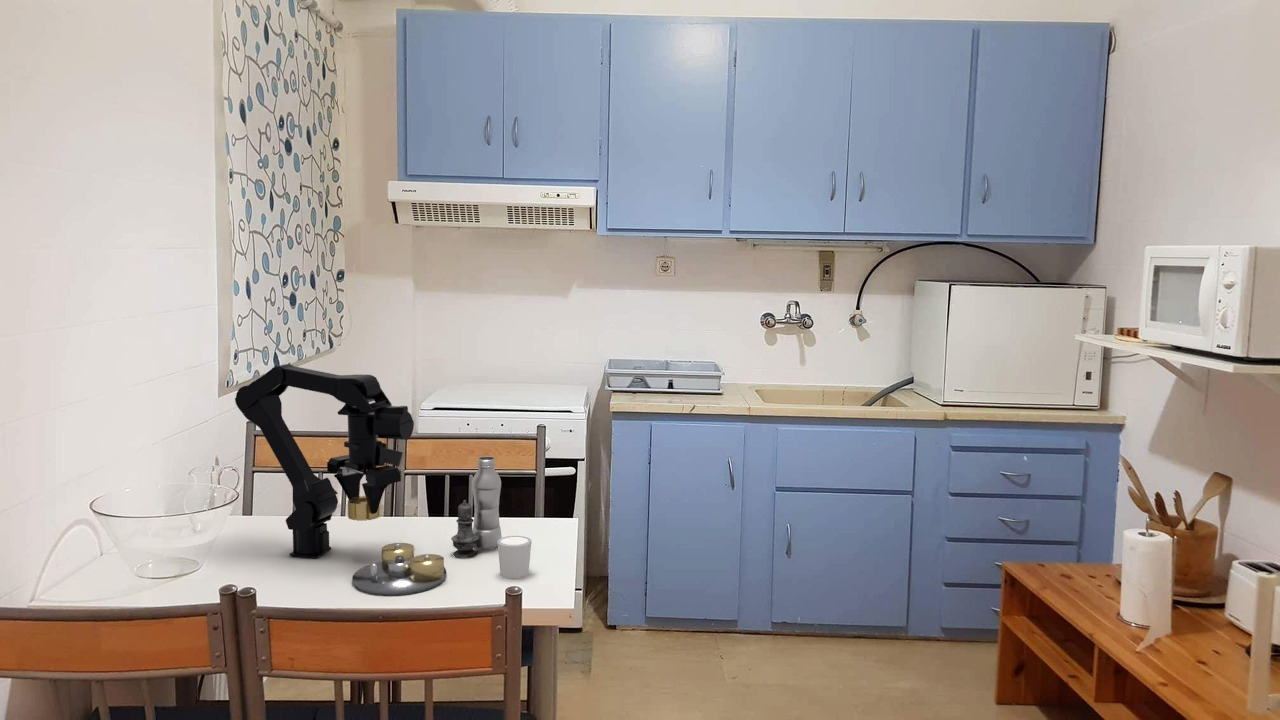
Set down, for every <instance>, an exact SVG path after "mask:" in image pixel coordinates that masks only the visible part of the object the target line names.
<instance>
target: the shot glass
mask: <svg viewBox="0 0 1280 720" xmlns="http://www.w3.org/2000/svg"><path fill="white" fill-rule="evenodd" d="M497 542H498V547H497V549H498V550H497V552H498V563H499V571H500V572H499V573H500V576H501V577H502V578H503V579H504V578H505V579H509V580H516V579H523V578H525V576H526V577H527V576H528V575H529V573H530V572H529V571H530V563H531V562H530V561H531V553H532V552H531V550H532V539H531V538H530V537H527V536H523V535H509V536H504V537H501V538H500V539H499V540H498V541H497Z"/></svg>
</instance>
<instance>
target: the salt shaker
mask: <svg viewBox="0 0 1280 720" xmlns="http://www.w3.org/2000/svg"><path fill="white" fill-rule="evenodd" d="M472 509H473V507H472V505H471V504H470V503H467V500H466V499H463V501H462V503H460V504H459V505H458V506H457V519H456V523H457V533H456V534H455V535H453V536H452V537H451V538H450V540H451V541H452V545H453V547H454V548H455V549H456V550H455V551H454V552H452V555H454V556H455V558H457V557H458V559H468V558H474V557H476V556H478V554H479V552H478V551H477V550H476V549H475V548H476V545H477V543H478V539H479V536H478V535H475V534H473V523H474V518H472V517H473V516H472V515H473V514H472V512H473V511H472ZM454 556H453V557H454Z"/></svg>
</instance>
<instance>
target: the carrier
mask: <svg viewBox="0 0 1280 720" xmlns="http://www.w3.org/2000/svg"><path fill="white" fill-rule="evenodd" d="M380 550H381V561H378V562H374V563H371V564H368V565H365V566H363V567H361V568H358V570H356V571H355V572H354V573H353V574H352V586H353V587H354V589H356V590H357V591H358V592H361V593H364V594H367V593H368V594H367V595H372V594H373V595H372V596H379V595H381V597H382V595H383V597H397V596H398V597H401V596H409V595H416V594H419V593H424V592H427V591H431V590H433V589H435V588H438V587H439V586H441V585H442V584H443V583H444V582H445V581H446V580H447V569H446V567H445V565H444V564H445V563H444V562H445V561H444V560H445V557H443V556H442V555H440V554H435V553H432V554H431V553H427V554H419V555H415V546H414V544H411V543H408V542H393V543H392V542H391V543H388V544H384V546H382V547H381V549H380Z"/></svg>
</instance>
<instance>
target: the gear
mask: <svg viewBox="0 0 1280 720" xmlns="http://www.w3.org/2000/svg"><path fill="white" fill-rule="evenodd" d="M381 516H382V500H381V501H380V504H379V507H378V510H377V513H375V514H371V511H370V509H369V506H368V503H367V499H366V496H365V495H359V496H358V497H353V498H352V499H348V500H347V518H348V519H349V520H353V521H372V520H376V519H379V518H380V517H381Z"/></svg>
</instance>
